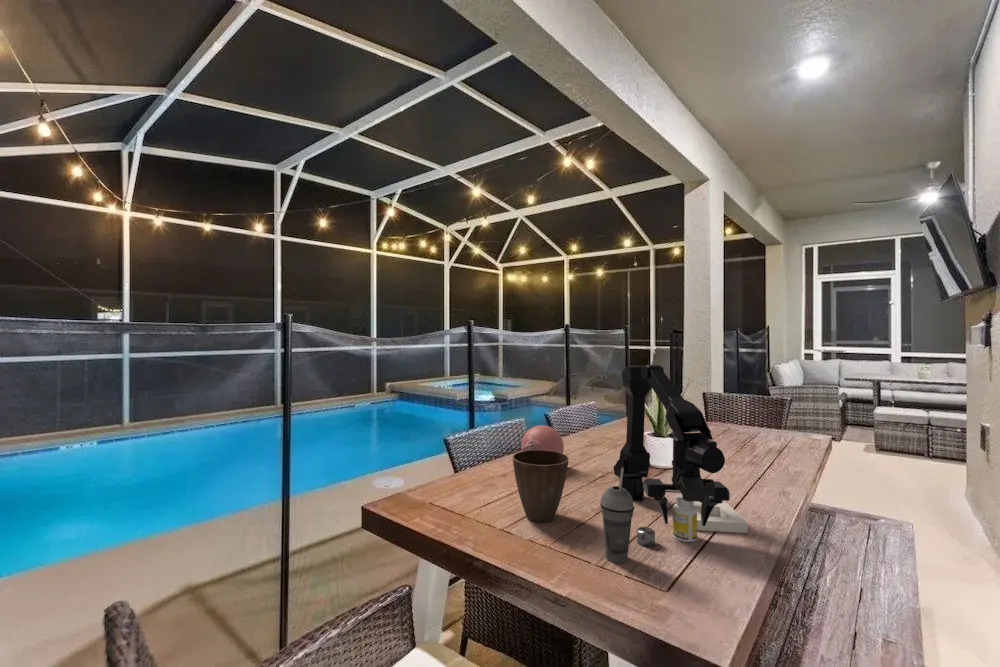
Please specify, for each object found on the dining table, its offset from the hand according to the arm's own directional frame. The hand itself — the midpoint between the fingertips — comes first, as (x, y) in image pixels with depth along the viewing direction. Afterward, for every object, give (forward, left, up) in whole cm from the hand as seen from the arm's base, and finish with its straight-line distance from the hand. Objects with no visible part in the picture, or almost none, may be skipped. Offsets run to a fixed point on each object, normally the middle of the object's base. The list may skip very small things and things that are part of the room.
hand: (684, 524), depth 108 cm
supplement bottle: (0, 0, -3) cm, 3 cm away
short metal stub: (-10, -4, -3) cm, 11 cm away
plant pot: (-35, +8, -3) cm, 36 cm away
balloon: (-36, +49, -3) cm, 61 cm away
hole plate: (+10, +11, -3) cm, 15 cm away
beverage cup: (-18, -12, -3) cm, 22 cm away
